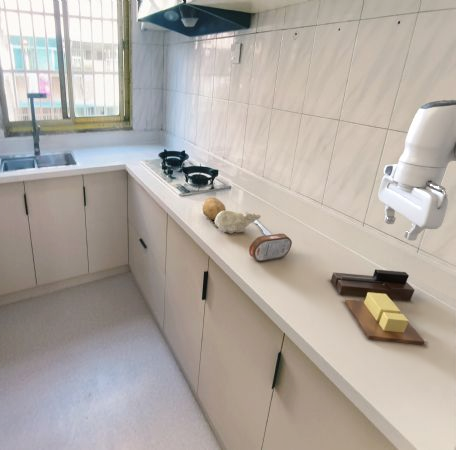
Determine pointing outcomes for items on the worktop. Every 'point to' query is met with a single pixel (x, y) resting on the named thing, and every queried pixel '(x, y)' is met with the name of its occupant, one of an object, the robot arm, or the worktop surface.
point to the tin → (270, 247)
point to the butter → (380, 305)
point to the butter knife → (262, 227)
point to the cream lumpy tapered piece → (234, 221)
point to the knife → (381, 277)
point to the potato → (212, 207)
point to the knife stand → (371, 287)
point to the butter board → (375, 330)
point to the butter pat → (393, 322)
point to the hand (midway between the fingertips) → (398, 230)
